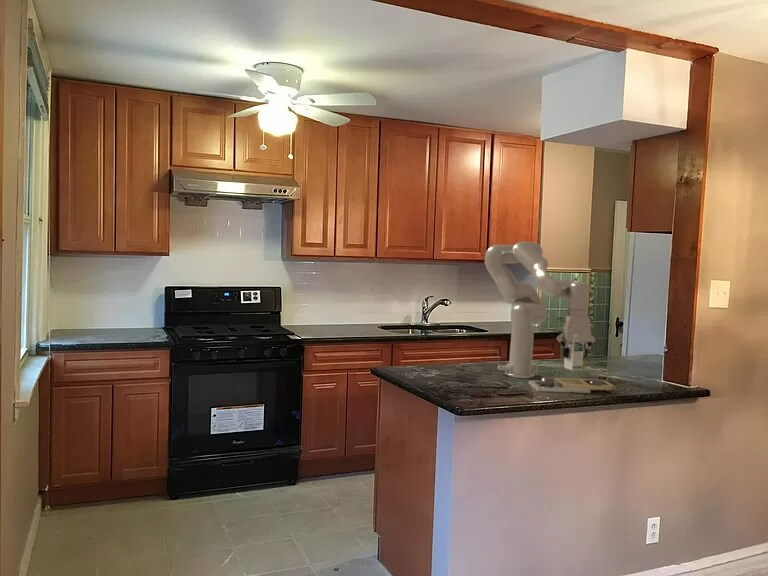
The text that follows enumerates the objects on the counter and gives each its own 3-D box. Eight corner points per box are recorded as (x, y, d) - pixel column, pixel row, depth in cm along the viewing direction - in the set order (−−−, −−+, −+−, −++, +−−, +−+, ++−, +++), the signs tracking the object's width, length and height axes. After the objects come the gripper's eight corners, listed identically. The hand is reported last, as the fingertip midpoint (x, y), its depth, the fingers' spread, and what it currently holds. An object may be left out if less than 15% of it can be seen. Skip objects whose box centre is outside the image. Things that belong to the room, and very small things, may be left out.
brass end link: (562, 392, 242) (563, 382, 242) (552, 384, 254) (553, 375, 253) (615, 394, 244) (616, 384, 244) (602, 386, 255) (603, 377, 255)
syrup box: (571, 370, 244) (574, 334, 242) (563, 367, 249) (565, 331, 248) (584, 370, 245) (586, 334, 244) (575, 367, 251) (578, 331, 250)
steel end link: (537, 391, 241) (538, 381, 241) (528, 384, 253) (529, 374, 252) (590, 393, 243) (591, 383, 243) (579, 385, 254) (580, 376, 254)
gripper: (559, 313, 241) (556, 358, 242) (602, 315, 242) (599, 360, 244) (553, 311, 249) (550, 355, 250) (594, 312, 250) (591, 356, 251)
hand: (574, 357), depth 247 cm, fingers closed on syrup box, 6 cm apart
